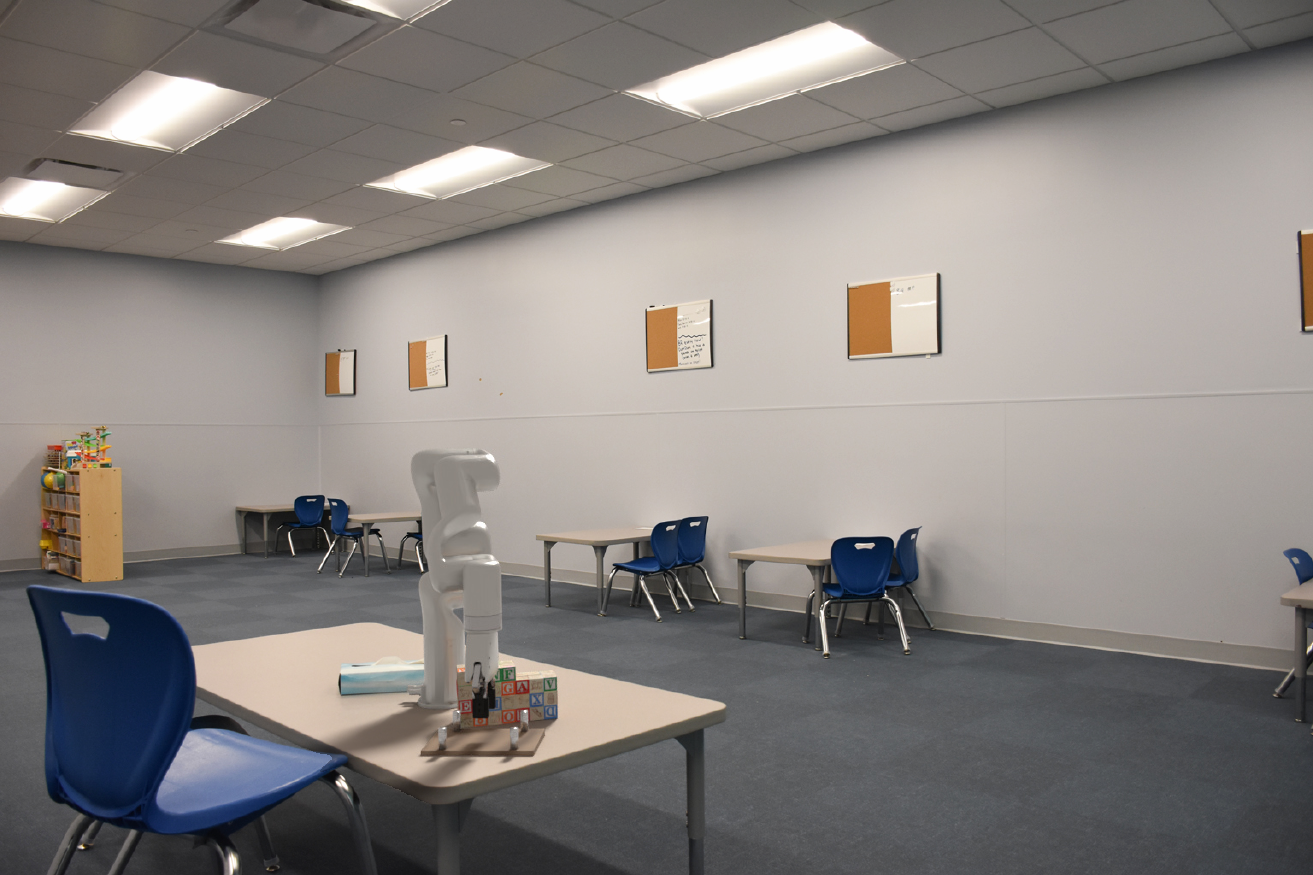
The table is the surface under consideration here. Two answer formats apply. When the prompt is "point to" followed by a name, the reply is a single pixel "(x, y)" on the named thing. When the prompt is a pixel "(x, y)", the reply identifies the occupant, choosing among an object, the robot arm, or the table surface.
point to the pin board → (485, 740)
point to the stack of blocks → (511, 696)
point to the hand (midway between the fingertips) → (484, 712)
